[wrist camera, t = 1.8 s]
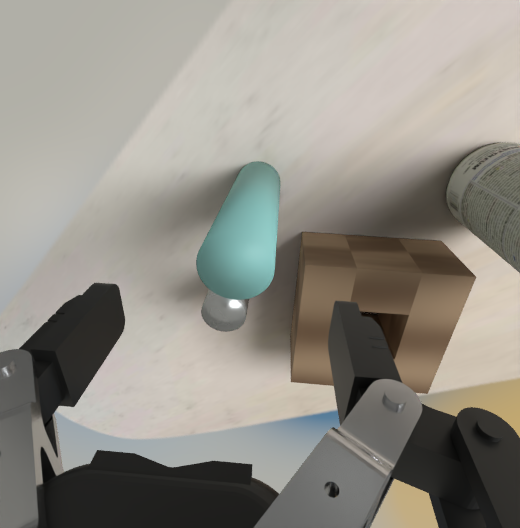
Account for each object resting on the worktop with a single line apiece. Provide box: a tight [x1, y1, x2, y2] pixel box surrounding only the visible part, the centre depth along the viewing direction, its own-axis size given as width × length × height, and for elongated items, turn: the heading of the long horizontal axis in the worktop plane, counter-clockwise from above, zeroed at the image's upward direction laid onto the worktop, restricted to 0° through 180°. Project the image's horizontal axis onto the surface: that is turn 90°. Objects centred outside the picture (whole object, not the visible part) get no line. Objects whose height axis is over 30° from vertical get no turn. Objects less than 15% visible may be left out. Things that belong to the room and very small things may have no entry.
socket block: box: [290, 232, 476, 394], centre depth 29 cm, size 12×12×6 cm
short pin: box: [201, 289, 249, 331], centre depth 29 cm, size 4×4×6 cm
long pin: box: [196, 162, 280, 300], centre depth 21 cm, size 4×4×14 cm
